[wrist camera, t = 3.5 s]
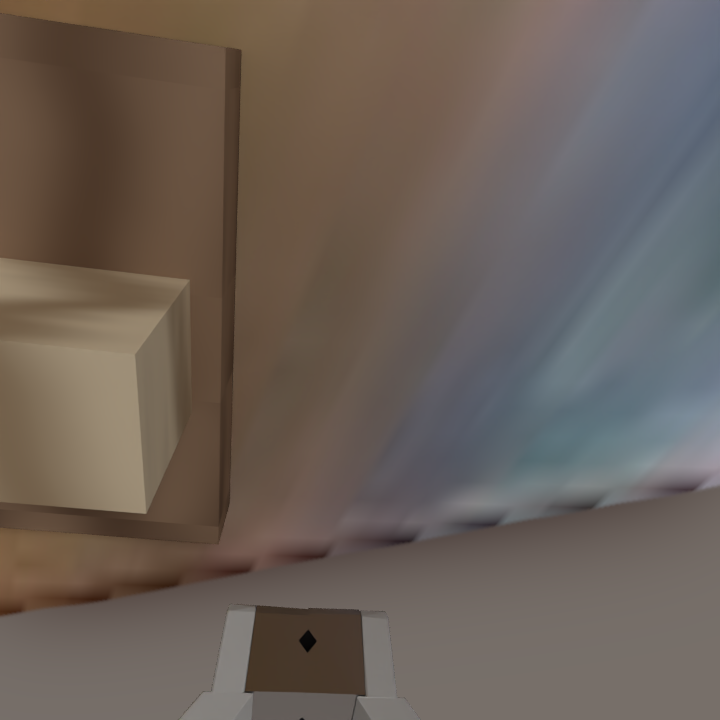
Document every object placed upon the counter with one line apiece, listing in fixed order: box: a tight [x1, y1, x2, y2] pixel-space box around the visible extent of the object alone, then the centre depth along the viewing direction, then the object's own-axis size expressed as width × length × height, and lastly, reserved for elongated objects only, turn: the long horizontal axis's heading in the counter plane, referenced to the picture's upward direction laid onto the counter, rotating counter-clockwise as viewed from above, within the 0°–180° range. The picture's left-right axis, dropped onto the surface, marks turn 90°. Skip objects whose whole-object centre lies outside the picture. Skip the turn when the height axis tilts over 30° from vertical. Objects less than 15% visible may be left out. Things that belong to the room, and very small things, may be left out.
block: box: [0, 258, 192, 514], centre depth 16 cm, size 6×5×5 cm
